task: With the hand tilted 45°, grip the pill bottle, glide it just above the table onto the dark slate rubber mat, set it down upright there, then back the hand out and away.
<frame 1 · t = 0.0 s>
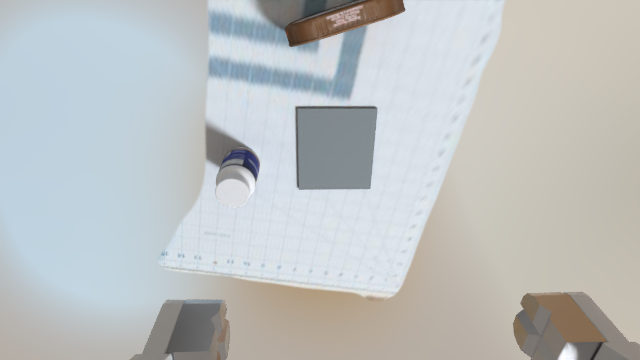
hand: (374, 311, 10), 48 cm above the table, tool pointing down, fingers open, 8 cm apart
tin: (340, 14, 51), on the table
pill bottle: (242, 161, 61), on the table
mat: (335, 150, 61), on the table
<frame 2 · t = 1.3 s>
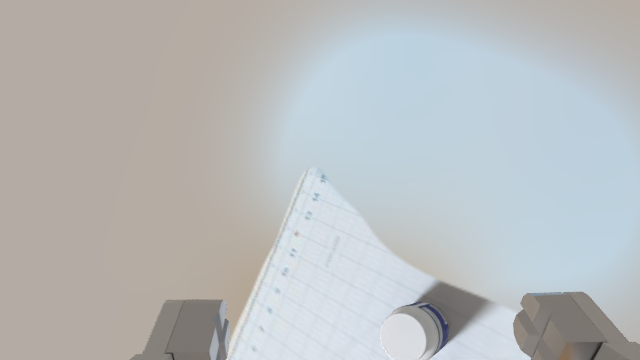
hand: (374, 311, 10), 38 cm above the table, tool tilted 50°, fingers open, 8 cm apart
pill bottle: (426, 326, 46), on the table
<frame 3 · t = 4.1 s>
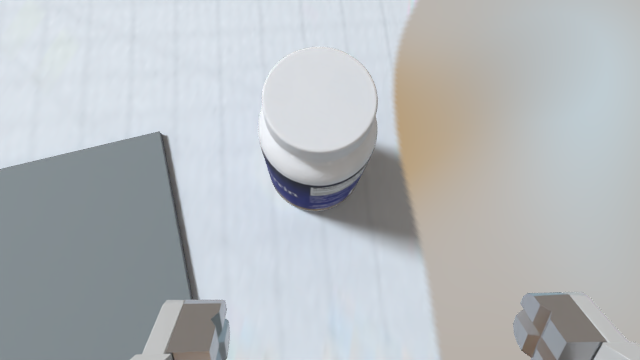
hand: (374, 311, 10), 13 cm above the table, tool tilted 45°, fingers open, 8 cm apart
pill bottle: (314, 171, 25), on the table
mat: (79, 264, 22), on the table
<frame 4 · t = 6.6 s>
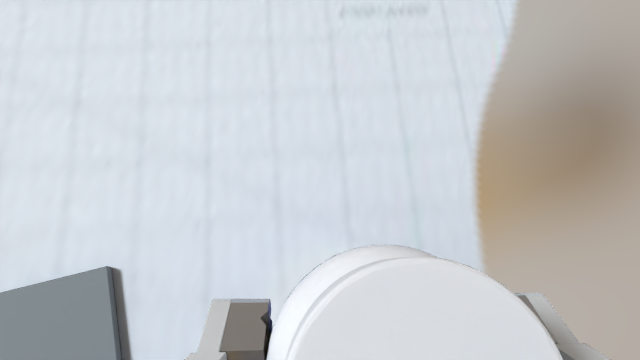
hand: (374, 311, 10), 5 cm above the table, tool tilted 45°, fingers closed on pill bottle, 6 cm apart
pill bottle: (353, 332, 16), on the table, touching gripper
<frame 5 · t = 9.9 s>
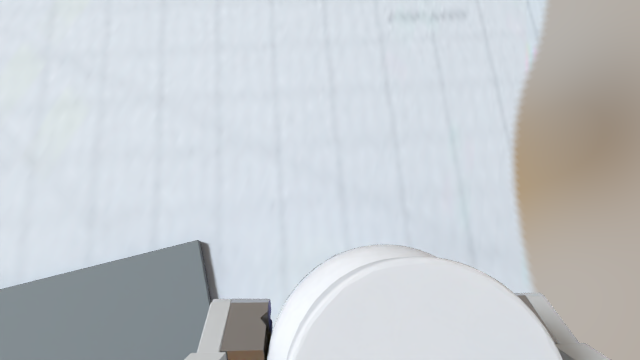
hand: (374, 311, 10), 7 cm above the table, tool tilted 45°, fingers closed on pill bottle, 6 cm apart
pill bottle: (352, 332, 16), point 2 cm above the table, touching gripper
when the fingers open (6 cm above the table, at t = 13.6 s): pill bottle stays where it is, resting on mat.
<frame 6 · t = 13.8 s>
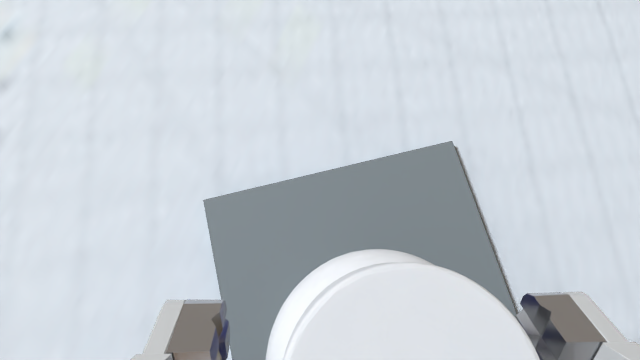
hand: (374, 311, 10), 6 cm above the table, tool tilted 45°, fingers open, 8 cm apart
pill bottle: (350, 332, 16), resting on mat
mat: (373, 323, 16), on the table
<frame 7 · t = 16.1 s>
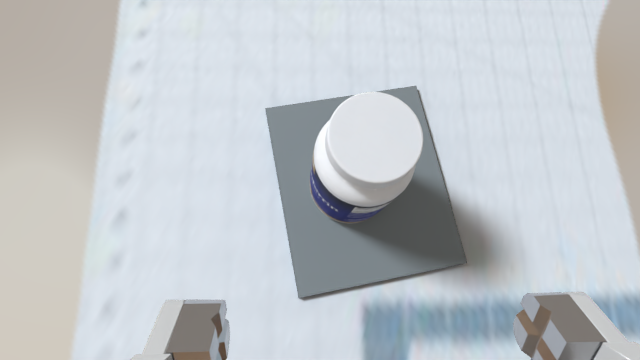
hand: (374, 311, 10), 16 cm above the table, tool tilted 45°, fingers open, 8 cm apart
pill bottle: (347, 186, 28), resting on mat
mat: (361, 184, 28), on the table
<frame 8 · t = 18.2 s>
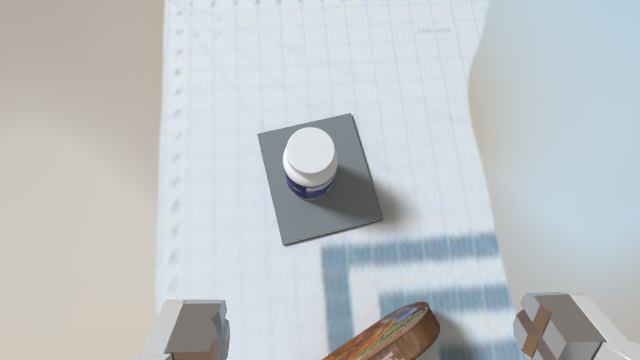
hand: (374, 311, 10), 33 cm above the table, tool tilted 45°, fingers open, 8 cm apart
tin: (364, 348, 41), on the table
pill bottle: (309, 178, 46), resting on mat
mat: (318, 176, 46), on the table
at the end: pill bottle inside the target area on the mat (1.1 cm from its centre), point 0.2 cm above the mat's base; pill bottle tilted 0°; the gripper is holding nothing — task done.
